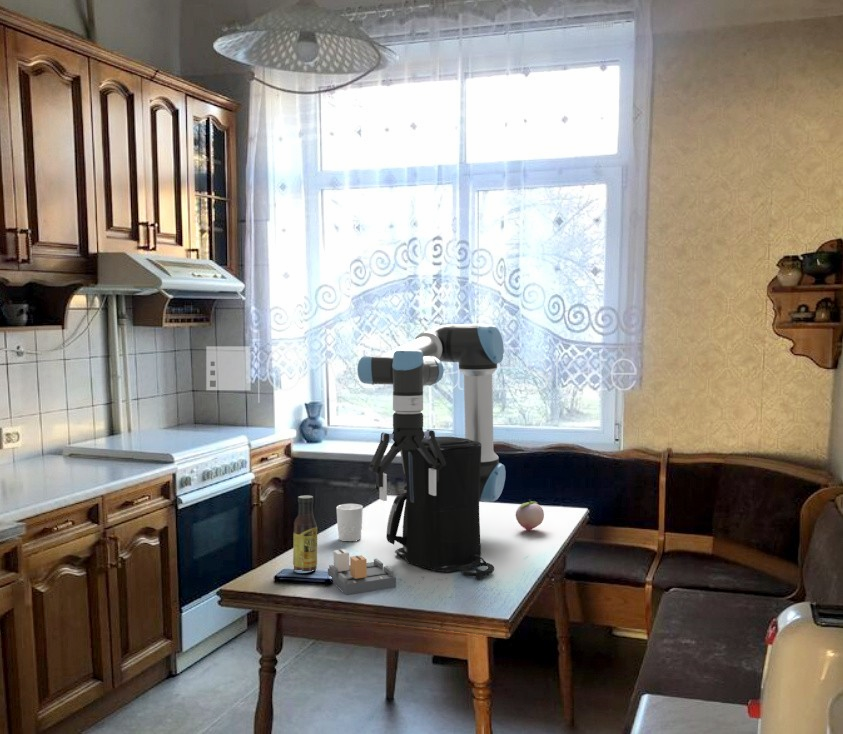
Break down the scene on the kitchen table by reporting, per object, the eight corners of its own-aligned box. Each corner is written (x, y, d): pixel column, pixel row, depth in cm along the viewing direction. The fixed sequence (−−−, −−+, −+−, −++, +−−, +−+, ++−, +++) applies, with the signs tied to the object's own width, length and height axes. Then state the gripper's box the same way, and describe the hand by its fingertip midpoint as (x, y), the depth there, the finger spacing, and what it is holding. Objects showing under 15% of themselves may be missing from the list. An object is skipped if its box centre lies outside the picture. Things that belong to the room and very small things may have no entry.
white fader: (333, 567, 203) (333, 549, 203) (344, 566, 205) (344, 548, 204) (338, 571, 200) (337, 553, 200) (349, 570, 202) (349, 551, 201)
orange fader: (350, 574, 198) (350, 556, 198) (361, 573, 199) (361, 554, 199) (355, 578, 195) (355, 559, 194) (366, 577, 196) (366, 558, 196)
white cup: (332, 541, 239) (331, 508, 238) (344, 534, 246) (344, 502, 246) (355, 544, 236) (355, 510, 235) (367, 537, 243) (367, 504, 243)
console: (327, 578, 205) (327, 563, 205) (375, 571, 210) (374, 557, 210) (346, 594, 192) (346, 579, 192) (395, 587, 198) (395, 572, 197)
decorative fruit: (536, 536, 243) (536, 503, 243) (512, 532, 247) (512, 500, 247) (548, 529, 251) (548, 497, 251) (524, 525, 255) (524, 495, 255)
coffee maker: (424, 542, 237) (424, 430, 235) (521, 560, 219) (521, 438, 217) (377, 561, 219) (376, 439, 217) (478, 583, 200) (478, 450, 198)
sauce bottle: (306, 576, 206) (305, 500, 205) (288, 572, 209) (287, 497, 208) (322, 569, 212) (321, 495, 211) (304, 566, 215) (303, 493, 214)
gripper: (367, 416, 188) (367, 505, 189) (459, 411, 199) (459, 495, 200) (355, 413, 195) (355, 499, 196) (445, 408, 206) (445, 489, 207)
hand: (408, 497), depth 198 cm, fingers open, 13 cm apart
